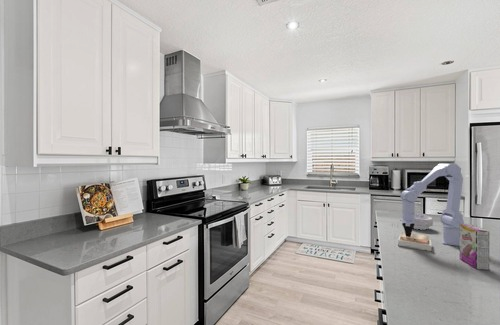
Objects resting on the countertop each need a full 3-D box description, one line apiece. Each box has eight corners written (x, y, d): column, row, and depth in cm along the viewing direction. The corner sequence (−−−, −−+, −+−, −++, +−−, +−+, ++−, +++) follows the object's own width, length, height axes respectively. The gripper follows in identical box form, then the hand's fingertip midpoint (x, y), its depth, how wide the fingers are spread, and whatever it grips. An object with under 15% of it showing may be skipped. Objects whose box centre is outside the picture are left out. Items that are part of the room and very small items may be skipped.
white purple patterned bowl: (409, 230, 158) (409, 218, 158) (402, 224, 172) (402, 213, 172) (436, 232, 153) (437, 219, 153) (427, 226, 168) (427, 215, 168)
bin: (430, 244, 130) (430, 239, 130) (431, 251, 120) (431, 245, 120) (399, 239, 138) (399, 234, 138) (398, 245, 128) (398, 240, 128)
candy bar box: (458, 258, 111) (458, 223, 111) (471, 259, 110) (471, 223, 110) (475, 269, 100) (476, 230, 100) (490, 270, 99) (490, 230, 99)
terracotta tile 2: (413, 241, 133) (413, 238, 133) (413, 244, 129) (413, 240, 129) (403, 240, 136) (403, 236, 136) (402, 242, 132) (402, 238, 132)
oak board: (428, 239, 139) (428, 236, 139) (429, 244, 130) (429, 241, 130) (402, 235, 146) (402, 232, 146) (400, 240, 137) (400, 236, 137)
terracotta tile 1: (427, 243, 130) (427, 240, 130) (427, 246, 126) (427, 242, 126) (416, 242, 133) (416, 238, 133) (415, 244, 129) (415, 240, 129)
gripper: (400, 209, 143) (400, 232, 143) (399, 213, 131) (398, 238, 131) (415, 210, 139) (415, 234, 139) (414, 215, 127) (414, 241, 127)
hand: (408, 236), depth 135 cm, fingers closed
